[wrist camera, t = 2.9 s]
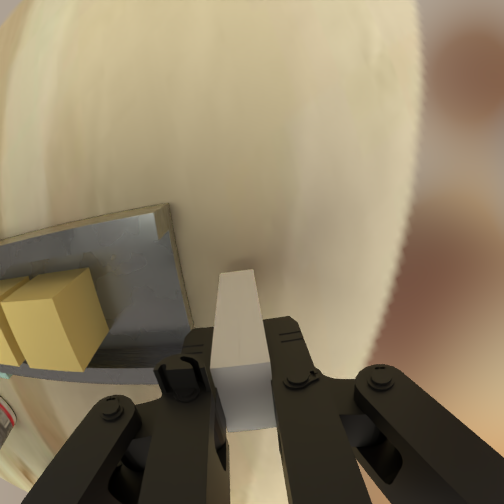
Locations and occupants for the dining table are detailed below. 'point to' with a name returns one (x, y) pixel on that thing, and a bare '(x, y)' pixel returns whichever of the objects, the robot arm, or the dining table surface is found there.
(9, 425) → the pill bottle
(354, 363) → the dining table surface
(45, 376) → the slot rail
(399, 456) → the robot arm
